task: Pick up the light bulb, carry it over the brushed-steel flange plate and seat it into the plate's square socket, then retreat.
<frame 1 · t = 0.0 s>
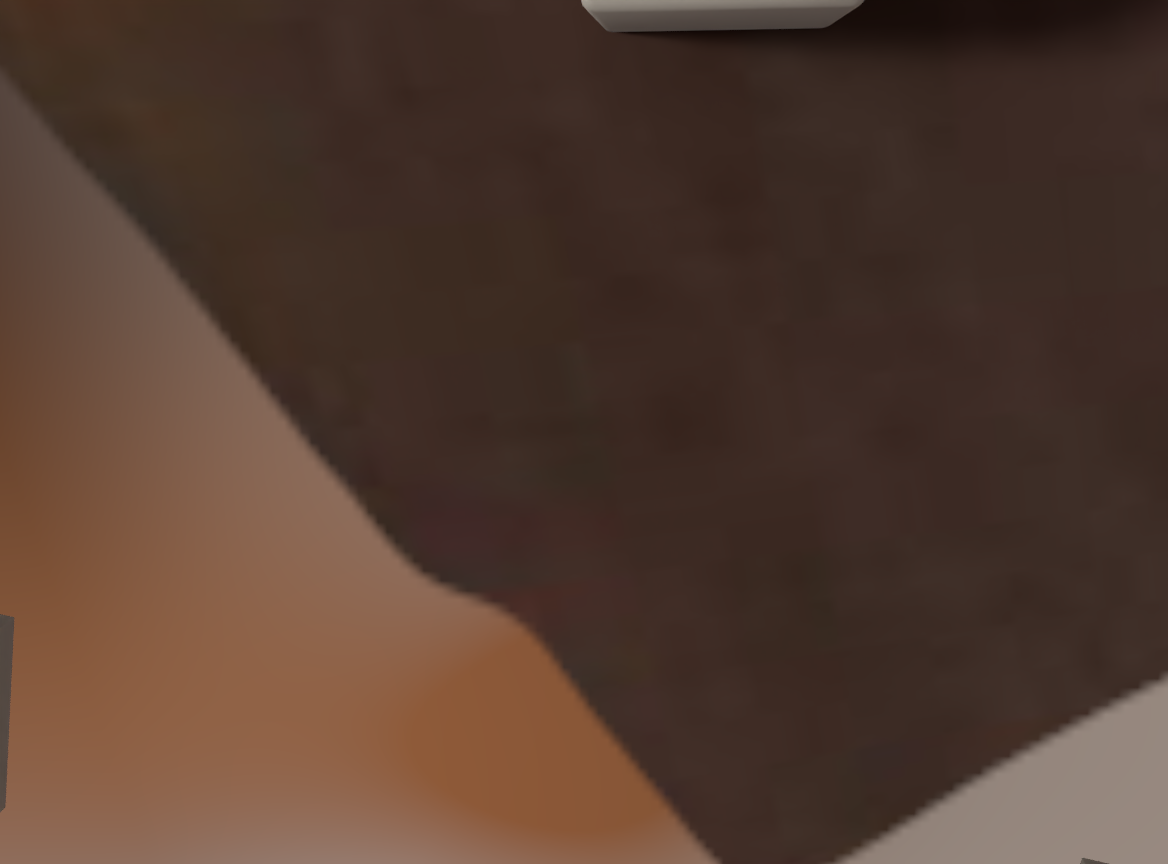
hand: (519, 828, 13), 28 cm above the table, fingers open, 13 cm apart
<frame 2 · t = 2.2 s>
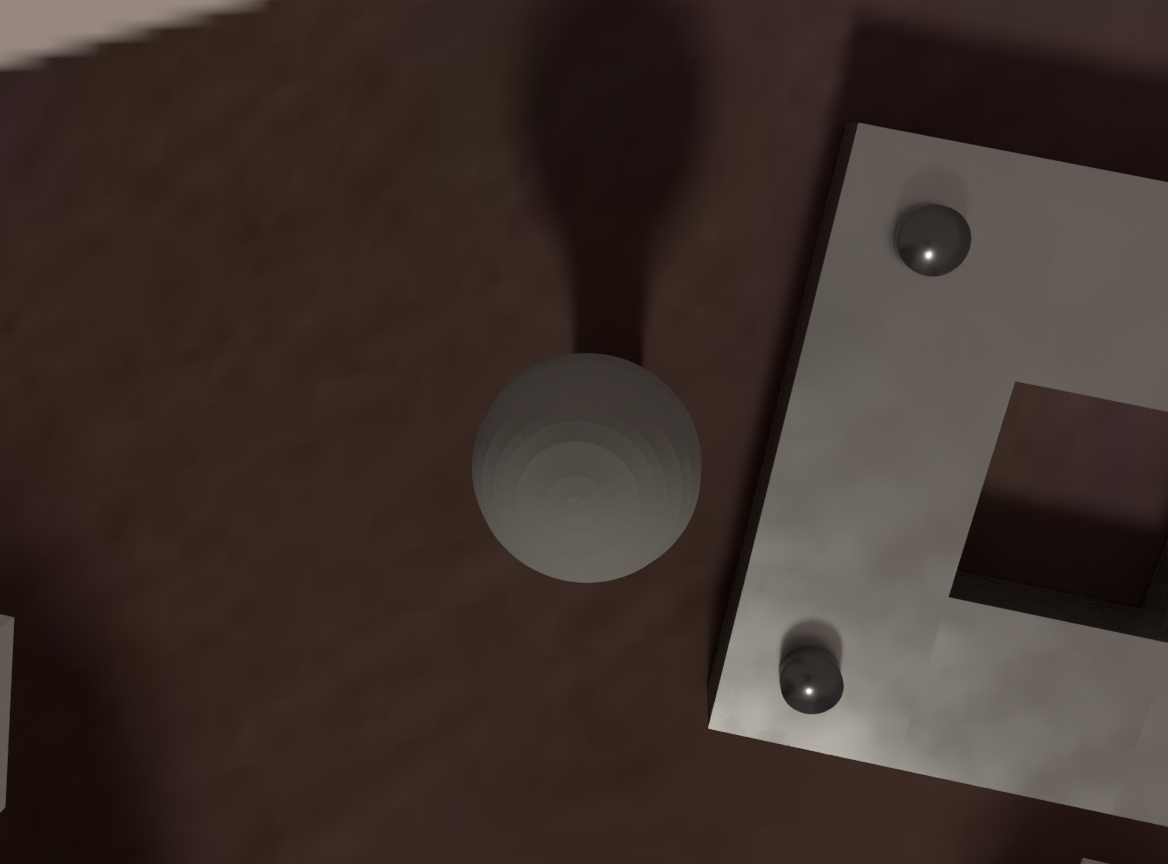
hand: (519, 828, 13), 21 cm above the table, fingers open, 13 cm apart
flange: (1068, 488, 33), on the table
light bulb: (608, 393, 33), on the table
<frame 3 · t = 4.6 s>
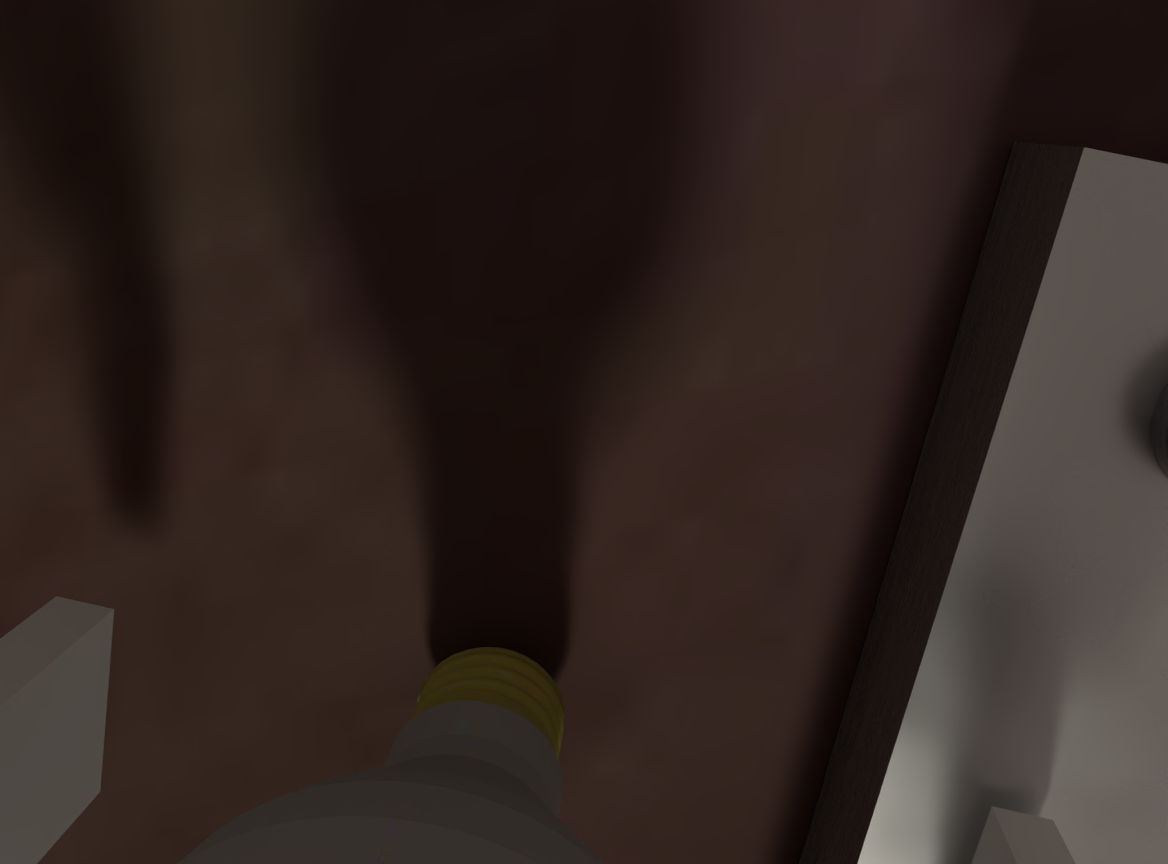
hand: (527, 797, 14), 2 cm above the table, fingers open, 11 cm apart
light bulb: (502, 681, 17), on the table
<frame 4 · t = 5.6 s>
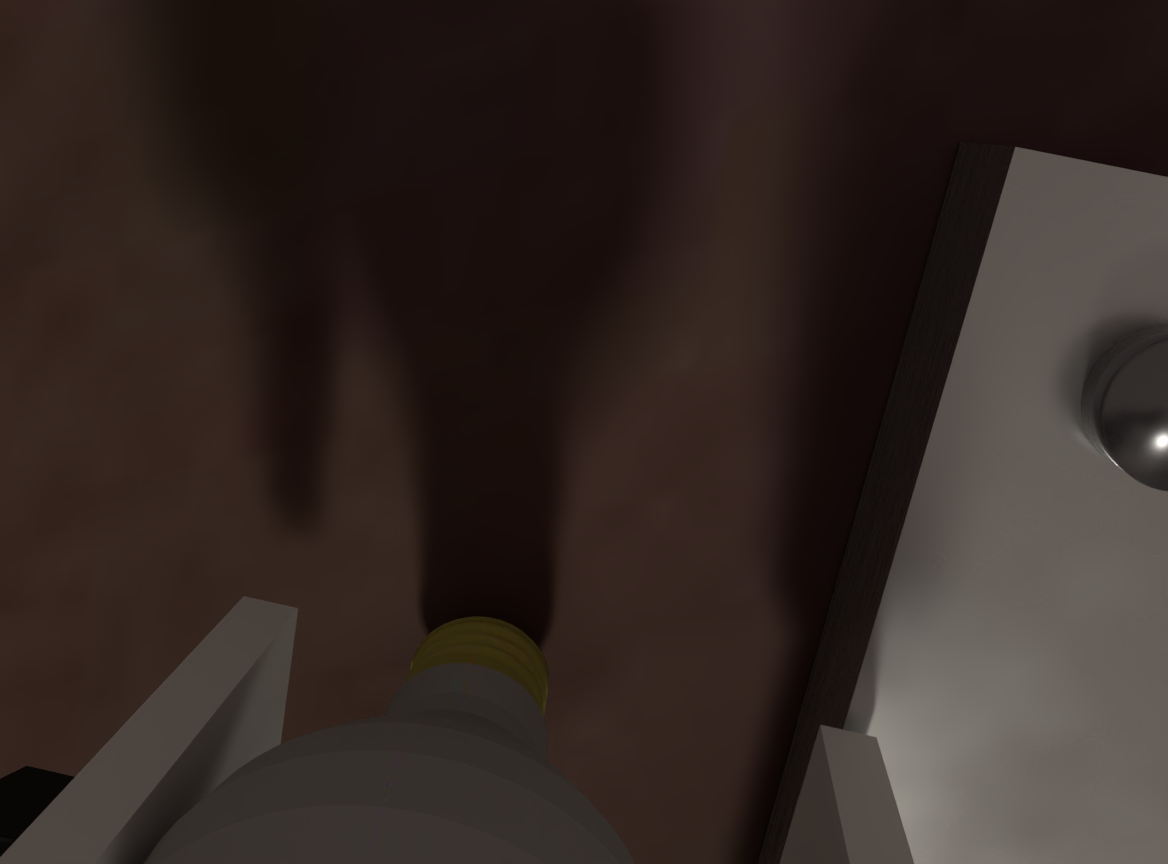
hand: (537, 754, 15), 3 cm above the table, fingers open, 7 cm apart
light bulb: (489, 650, 18), on the table, touching gripper
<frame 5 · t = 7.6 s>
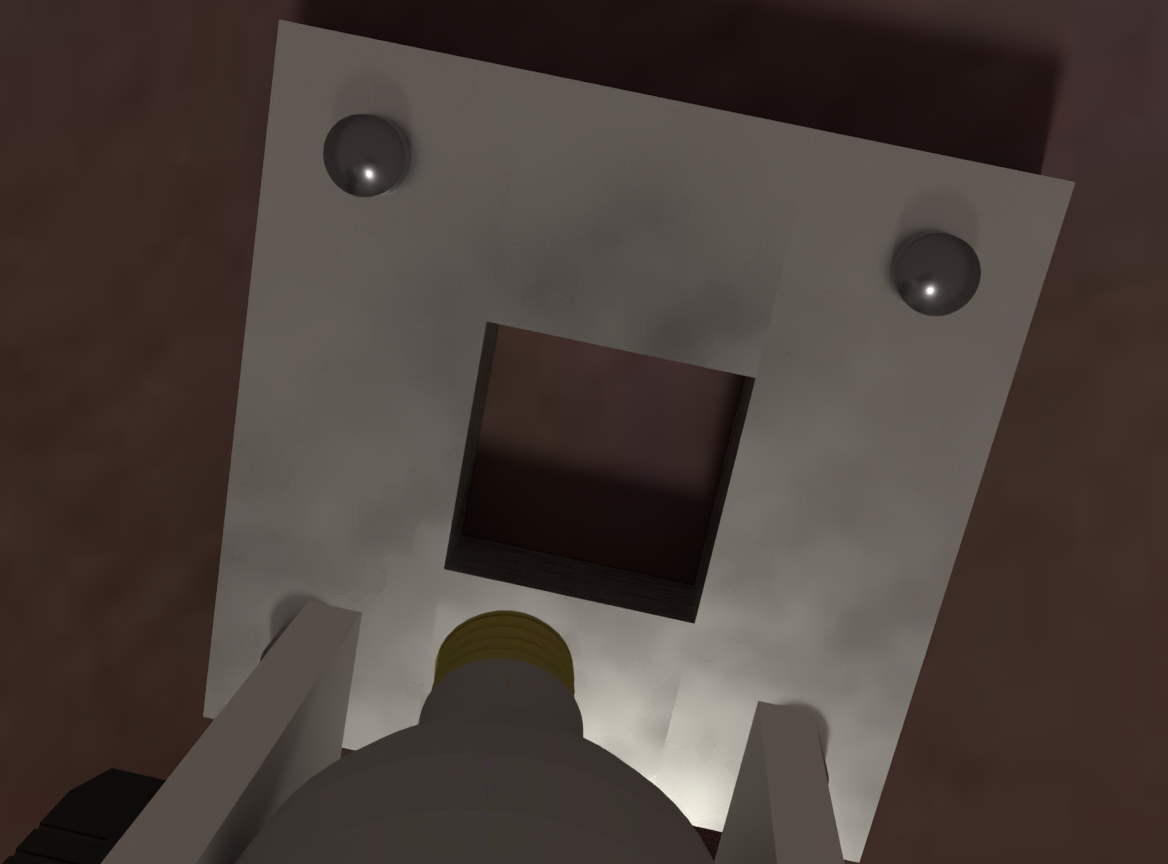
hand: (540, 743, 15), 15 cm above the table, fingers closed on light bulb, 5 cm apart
flange: (600, 449, 29), on the table
light bulb: (509, 643, 18), point 12 cm above the table, touching gripper
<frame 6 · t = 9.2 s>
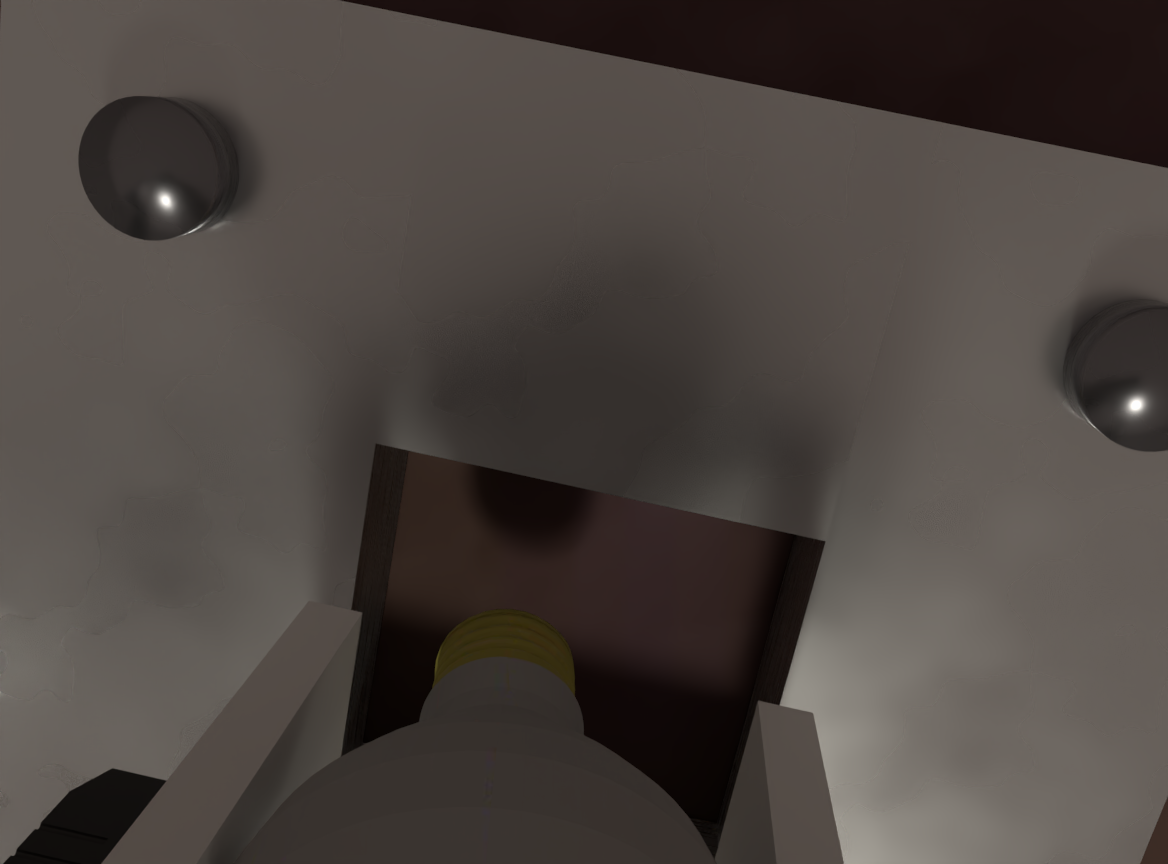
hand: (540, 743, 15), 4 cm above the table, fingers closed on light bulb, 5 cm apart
flange: (573, 621, 19), on the table
light bulb: (509, 641, 18), point 1 cm above the table, touching gripper
when the fingers open (4 cm above the table, at t = 9.2 s): light bulb drops 1 cm, resting in flange.
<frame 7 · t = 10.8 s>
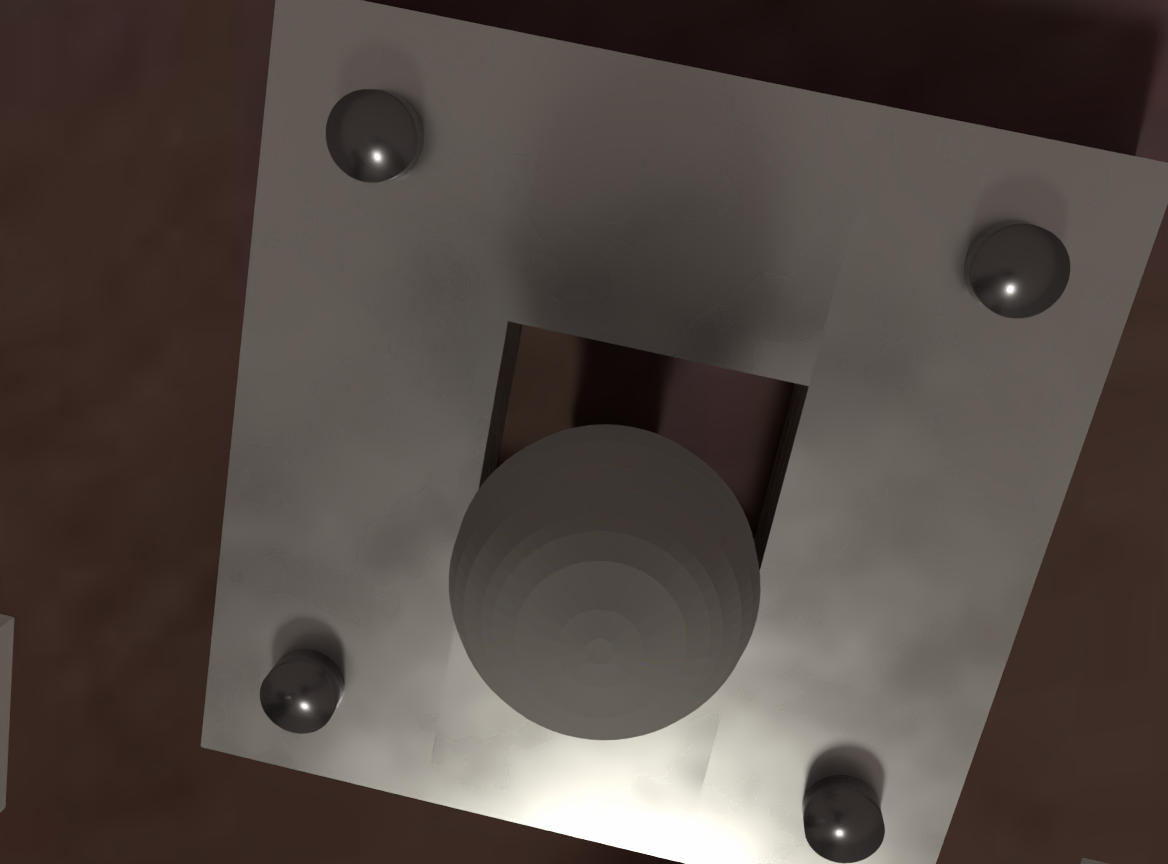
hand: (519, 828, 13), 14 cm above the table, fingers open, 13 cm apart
flange: (634, 460, 26), on the table
light bulb: (612, 456, 27), resting in flange
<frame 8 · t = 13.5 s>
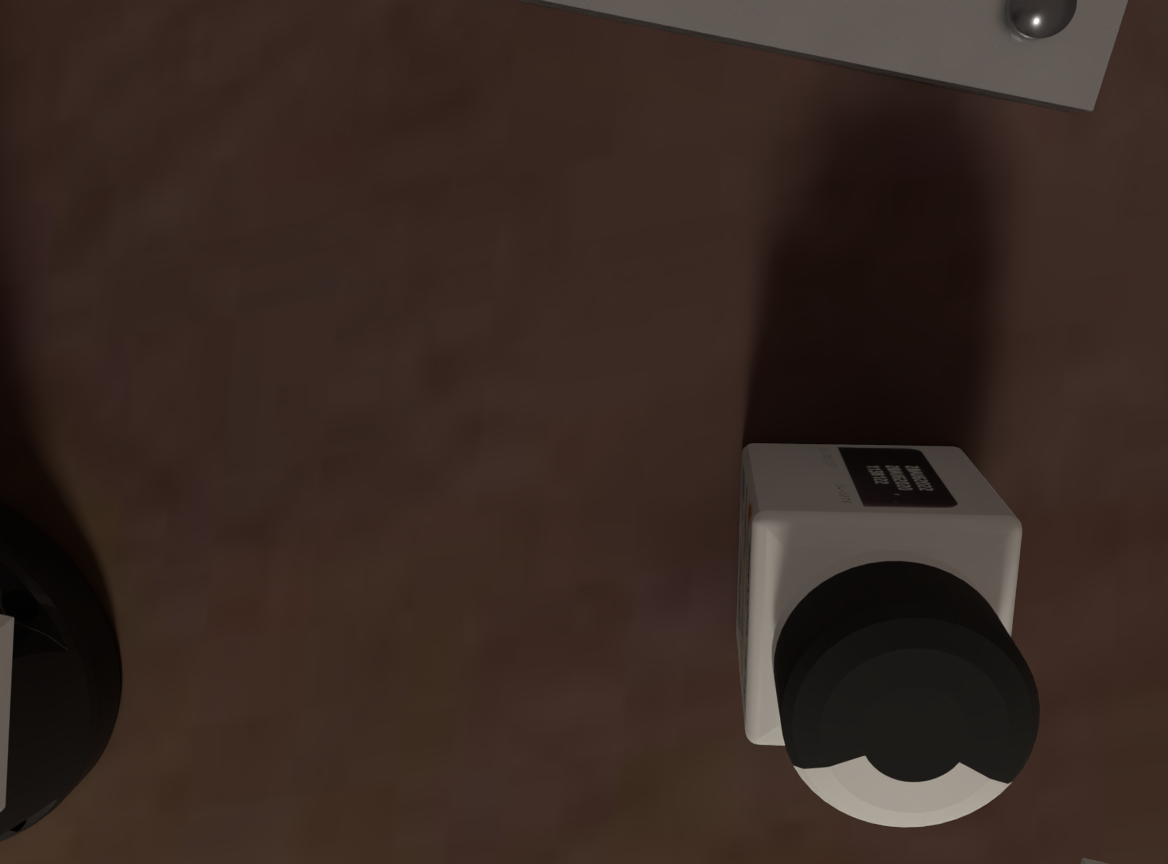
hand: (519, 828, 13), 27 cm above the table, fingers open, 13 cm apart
container: (844, 541, 40), on the table
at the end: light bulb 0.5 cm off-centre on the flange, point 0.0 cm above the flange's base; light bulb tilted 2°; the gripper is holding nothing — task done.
